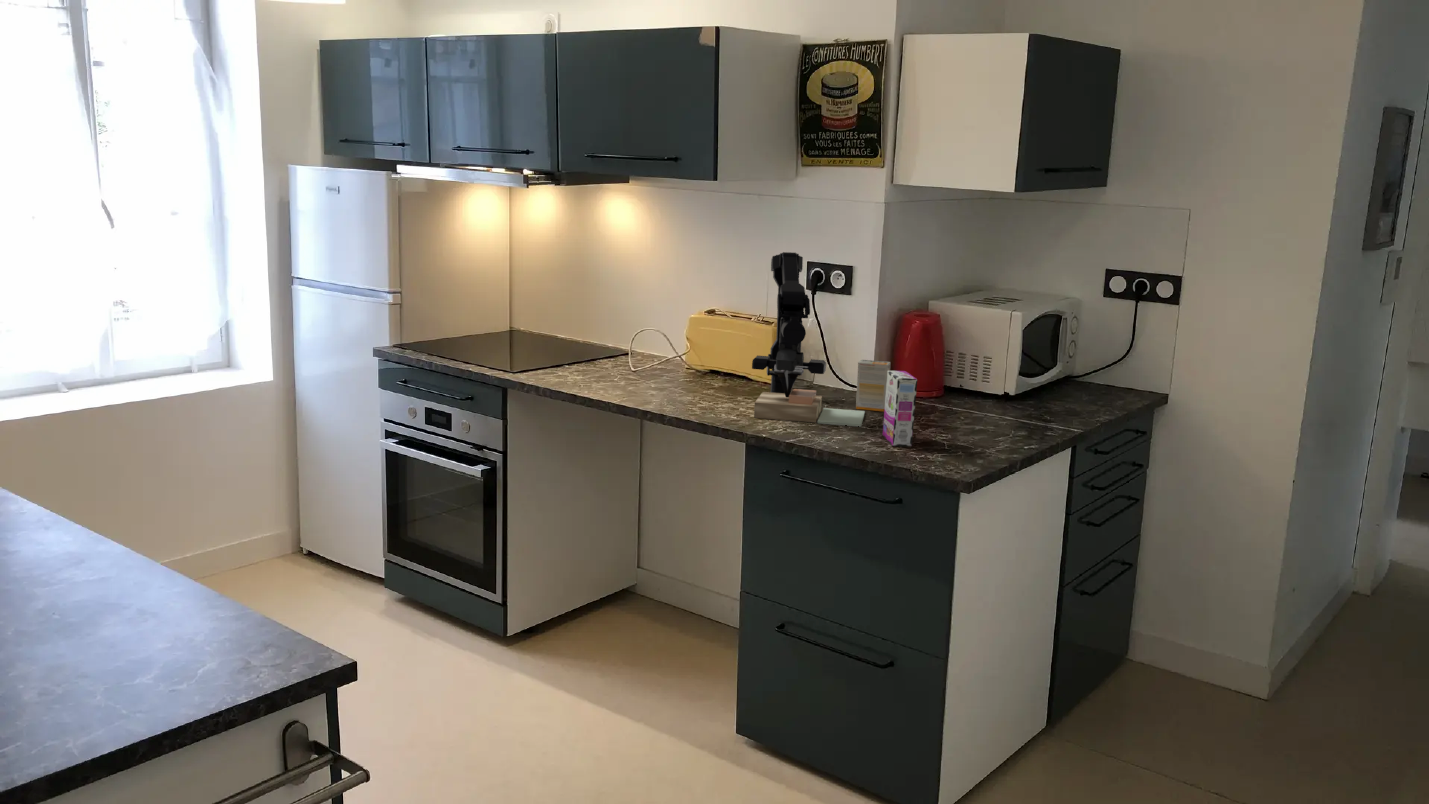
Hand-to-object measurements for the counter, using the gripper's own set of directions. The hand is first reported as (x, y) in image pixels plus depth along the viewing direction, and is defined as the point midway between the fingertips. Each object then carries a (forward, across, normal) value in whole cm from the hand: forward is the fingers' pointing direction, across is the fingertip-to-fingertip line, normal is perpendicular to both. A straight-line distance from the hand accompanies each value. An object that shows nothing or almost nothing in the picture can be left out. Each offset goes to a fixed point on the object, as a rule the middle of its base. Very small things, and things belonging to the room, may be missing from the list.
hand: (787, 397), depth 291 cm
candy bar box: (+5, +30, -20) cm, 36 cm away
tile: (+1, +4, 0) cm, 4 cm away
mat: (+4, +14, 0) cm, 15 cm away
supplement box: (+5, +21, +14) cm, 26 cm away
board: (+5, 0, 0) cm, 5 cm away
